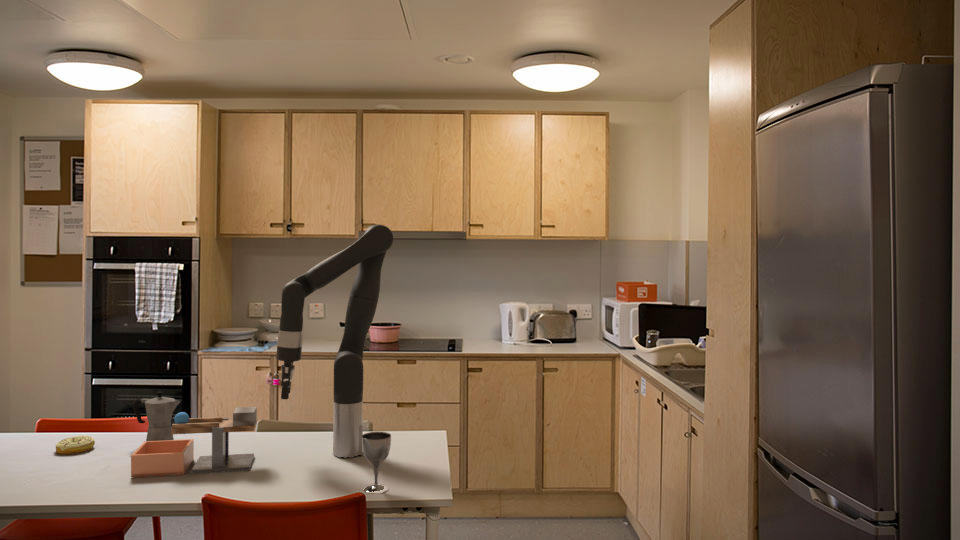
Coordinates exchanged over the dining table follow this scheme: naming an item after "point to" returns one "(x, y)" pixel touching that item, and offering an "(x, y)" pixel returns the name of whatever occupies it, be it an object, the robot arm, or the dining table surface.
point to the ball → (181, 418)
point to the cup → (162, 458)
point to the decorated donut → (75, 444)
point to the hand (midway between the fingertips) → (285, 396)
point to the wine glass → (376, 453)
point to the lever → (220, 423)
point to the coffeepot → (157, 416)
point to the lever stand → (222, 456)
